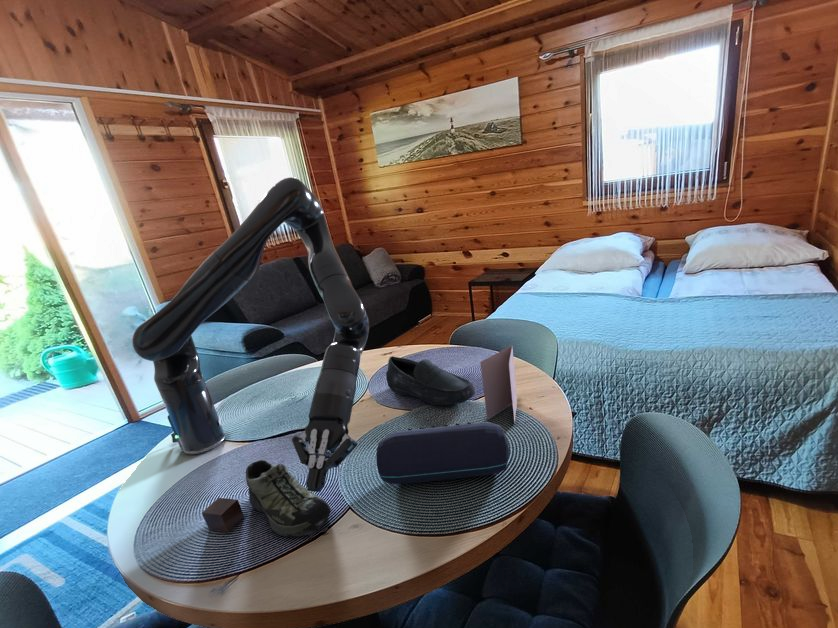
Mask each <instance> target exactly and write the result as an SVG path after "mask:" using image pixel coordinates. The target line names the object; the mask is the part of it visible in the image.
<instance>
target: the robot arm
mask: <svg viewBox="0 0 838 628" xmlns="http://www.w3.org/2000/svg"><path fill="white" fill-rule="evenodd" d="M284 223H285V225H287V226H288V227H290V228H292V229H293V230H294V232H295V233H296V234H298V237H299V238H300V239H301V241H302V242H303V244H304V246H305V248H306V252H307V264H308V270H309V273H310V276H311V278H312V280H313V282H314V283H313V284H314V285H315V287H316V289H317V291H318V293H319V295H320V297H321V298H322V300H323V303H324V306H325V309H326V311H327V314H328V316H329V319H330V321H331V323H332V325H333V327H334V335H333V341H332V343H331V344H329V345H328V346H327V348H326V349H325V351H324V354H323V359H322V363H321V366H320V371H319V375H318V377H317V380H316V383H315V387H314V391H313V395H312V400H311V404H310V408H309V412H308V424H307V425H306V426H305V429H304V432H303V433H301V434H300V435H299V436H297V435H295V436H293V437H292V439H291V441H292V444H293V446H294V449H295V451H296V455H297V457H298V459H299V461H300V464H302V465H304V466H306V467H308V474H307V479H306V483H305V485H306V486H305V488H306V489H307V490H308V491H311V492H312V493H314V492H315V493H320V492H322V490H323V489H324V488H325V485H326V480H327V475H328V471H329V470H330V469H333V468H338V467H339V466H340V465H341V464H342V463H343V462H344V460H345V459H346V458H347V457H348V456H349V455H350V454H351V453H352V452H353V450H354V449H356V448H357V446H358V442H357V441H356V440H354V439H352V438H351V436H350V435H349V427H348V425H349V424H350V421H351V416H352V411H353V406H354V401H355V396H356V392H357V380H358V375H359V369H360V365H361V364H360V363H361V357H362V355H363V353H364V349H365V347H366V344H367V342H368V337H369V333H370V320H369V317H368V314H367V310H366V308H365V306H364V304H363V301H362V300H361V298H360V296H359V294H358V293H357V291H356V290H355V288H354V286H353V283H352V281H351V278H350V276H349V274H348V272H347V270H346V268H345V265H344V264H343V262H342V259H341V258H340V256H339V253H338V252H337V249H336V248H335V247H336V246H335V244H334V242H333V239H332V237H331V234H330V231H329V228H328V223H327V219H326V214H325V212H324V208H323V205H322V204H321V201H320V200H319V198H318V197H317V196H316V195H315V194H314V193H313V192H312V191H311V190H310V188H308V186H307V185H305V184H304V182H302V181H301V180H300V179H298V178H296V177H286V178H283V179H281V180H279V181H278V182H276V183H275V184H273V186H272V187H271V188H270V189H269V190H268V191H267V192H266V193H265V194H264V196H263V197H262V199H261V200H260V201H259V202H258V204H256V205H255V207H254V209H253V210H252V211H251V213H250V214H249V215H248V216H247V217H246V218H245V220H243V222H242V223H241V224H240V225H239V226H238V227H237V228H236V229H235V230H234V231H233V232H232V234H231V235H230V236H229V237H227V239H225V241H223V242H222V244H220V245H219V246H218V247H217V248H215V250H214V251H213V252H211V254H210V255H209V256H207V258H206V259H205V260H203V262H202V263H201V264H200V265H199V266H198V268H197V269H196V270H195V271H194V272H193V273H192V274H191V276H189V278H188V279H187V280H186V282H184V284H183V286H182V287H181V288H180V289H179V291H178V292H177V294H175V295H174V297H173V298H172V299H171V300H170V301H169V302H168V303H167V304H166V305H165V306H163V307H162V308H160V310H158V311H156V313H155V314H154V315H152V316H150V317H148V318H147V319H145V320H144V321H143V322H142V323H140V324H139V325H138V326H137V327H136V328H135V330H134V332H133V335H132V339H131V340H132V341H131V342H132V343H131V344H132V347H133V350H134V352H135V353H136V354H137V356H139V357H140V358H141V359H143V360H146V361H150V362H152V363H153V366H154V367H153V368H154V369H153V370H154V375H153V381H154V384H155V386H156V388H157V391H158V393H159V396H160V398H161V400H162V402H163V404H164V408H165V409H166V412H167V414H168V415H167V420H168V422H169V425H170V427H171V430H172V433H170V436H171V441H172V443H173V444H174V443H175V444H176V443H177V444H178V446H179V449H180V450H181V451H183V453H184V454H186V455H188V456H189V455H191V456H193V455H194V456H195V455H199V454H203V453H206V452H209V451H211V450H214V449H216V448H217V447H218V446H220V445H221V444H223V443H224V442H225V441H226V439H227V435H226V432H225V431H224V429H223V428H224V427H223V426H222V418H221V416H219V415H218V412H217V409H216V406H215V404H214V401H213V399H212V396H211V393H210V391H209V388H208V386H207V383H206V381H205V378H204V375H203V371H202V370H201V361H200V357H199V354H198V350H197V348H196V344H195V342H194V339H193V336H192V335H193V334H194V333H195V332H196V331H197V329H198V328H199V327H200V326H201V325H202V324H203V323H204V322H205V321H206V320H207V319H208V318H209V317H211V316H212V315H213V314H214V313H216V312H217V311H218V310H220V309H221V308H222V307H224V306H225V305H226V304H227V303H228V302H229V301H231V300H232V299H233V298H234V297H235V296H236V295H237V294H239V293H240V292H241V291H242V290H243V289H244V288H245V287H246V286H247V285H248V284H249V283H250V282H251V281H252V280H253V278H254V277H255V276H256V275H257V273H258V271H259V269H260V266H261V264H262V259H263V256H264V251H265V248H266V245H267V242H268V241H269V239H270V237H272V235H273V234H274V233H275V231H277V230H278V228H280V226H281V225H282V224H284ZM308 445H309V446H308Z"/></svg>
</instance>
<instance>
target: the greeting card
mask: <svg viewBox="0 0 838 628" xmlns="http://www.w3.org/2000/svg"><path fill="white" fill-rule="evenodd" d="M513 349H514V347H513V345H510V346H508V347H506V348H504V349H502V350H500V351H499V352H498V351H497V352H496V353H494V354H492V355H491V356H489V357H486V358H485V359H483V360H481V361H479V364H480V372H481V379H482V390H483V396H484V405H485V413H486V420H487V421H489V420H490V419H491V418H493V417H495V416H496V415H498V414H499V413H500V412H502V411H503V410H505V409H506V408H507V407H509V406H511V405H512V413H513V424H514V425H515V424H516V414H517V405H518V394H517V392H518V391H517V382H516V371H515V359H514V350H513Z"/></svg>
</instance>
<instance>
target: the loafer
mask: <svg viewBox="0 0 838 628" xmlns="http://www.w3.org/2000/svg"><path fill="white" fill-rule="evenodd" d="M385 376H386V377H385V378H386V382H387V387H388V388H389V389H390V390H391V391H392V392H394V393H396V394H398V395H403V396H413V397H416V398H418V399H420V400H421V401H424V402H426V403H427V404H429V405H434V406H454V405H457V404H461V403H464V402H466V401H468V400H469V399H471V398H472V397H474V396H475V395H476V388H475V385H474V383H473V382H471V381H470V380H468V379H466V378H464V377H462V376H459V375H456V374H454V373H452V372H449V371H447V370H445V369H443V368H441V367H439V366H437V365H436V364H434V363H433V362H432V361H431V360H430V359H429V358H423V359H421V360H420V361H416V360H413V359H409V358H404V357H397V356H393V355H392V356H390V357H389V358H388V360H387V370H386V371H385Z"/></svg>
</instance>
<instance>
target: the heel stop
mask: <svg viewBox="0 0 838 628" xmlns="http://www.w3.org/2000/svg"><path fill="white" fill-rule="evenodd" d="M201 514H202V517H203V519H204V521H205V524H206V526H207V528H208V530H209V531H214V532H222V533H230V532H231V530H233V529H234V528H235V527H236V526H237V525H238V523H240V522H241V521H242V520H243V519H244V517H245V515H244V512H243V510H242V506H241V504H240V502H239V499H237V498H226V497H217V498H216V499H215V500H214V501H213V502H212V503H210V505H209V506H207V507H206V508H205V509H204V510H203V511H202V512H201Z"/></svg>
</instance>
